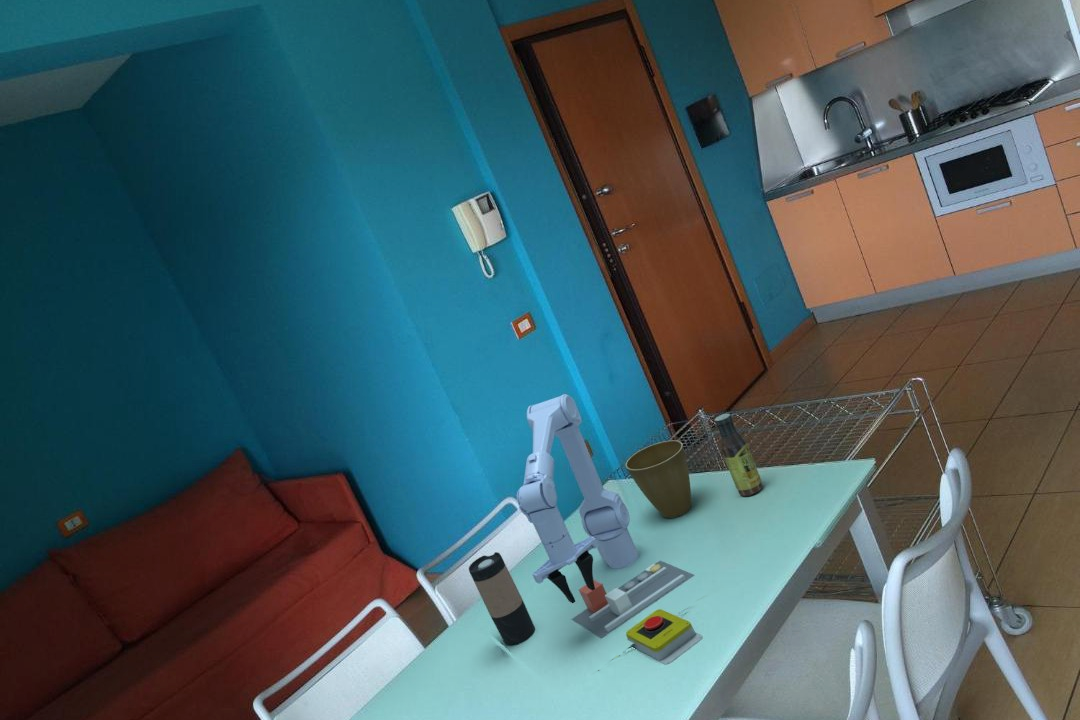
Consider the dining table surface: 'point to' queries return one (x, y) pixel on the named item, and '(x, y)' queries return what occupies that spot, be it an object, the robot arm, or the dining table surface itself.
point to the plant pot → (663, 477)
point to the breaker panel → (635, 597)
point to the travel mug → (502, 599)
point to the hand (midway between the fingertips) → (581, 594)
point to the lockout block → (594, 597)
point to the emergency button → (663, 636)
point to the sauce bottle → (738, 457)
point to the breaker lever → (618, 601)
